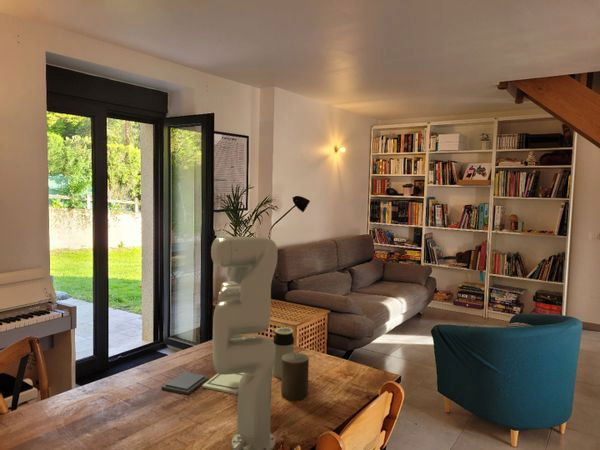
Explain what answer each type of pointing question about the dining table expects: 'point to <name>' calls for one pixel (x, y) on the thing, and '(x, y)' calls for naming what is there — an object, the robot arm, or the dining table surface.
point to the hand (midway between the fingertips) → (229, 361)
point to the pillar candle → (294, 376)
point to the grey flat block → (185, 383)
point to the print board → (224, 382)
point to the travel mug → (282, 347)
